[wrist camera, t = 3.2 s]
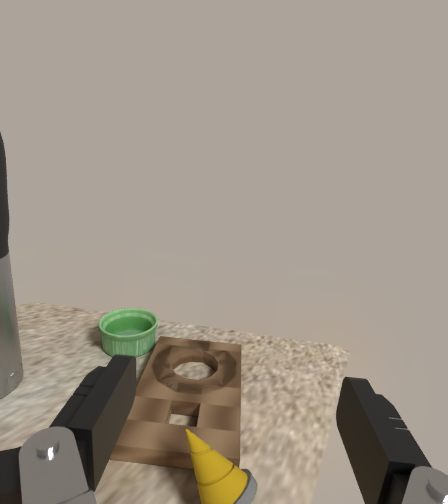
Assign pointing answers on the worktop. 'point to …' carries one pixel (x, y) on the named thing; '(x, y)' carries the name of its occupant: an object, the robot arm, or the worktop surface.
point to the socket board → (184, 405)
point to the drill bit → (219, 476)
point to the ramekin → (128, 331)
